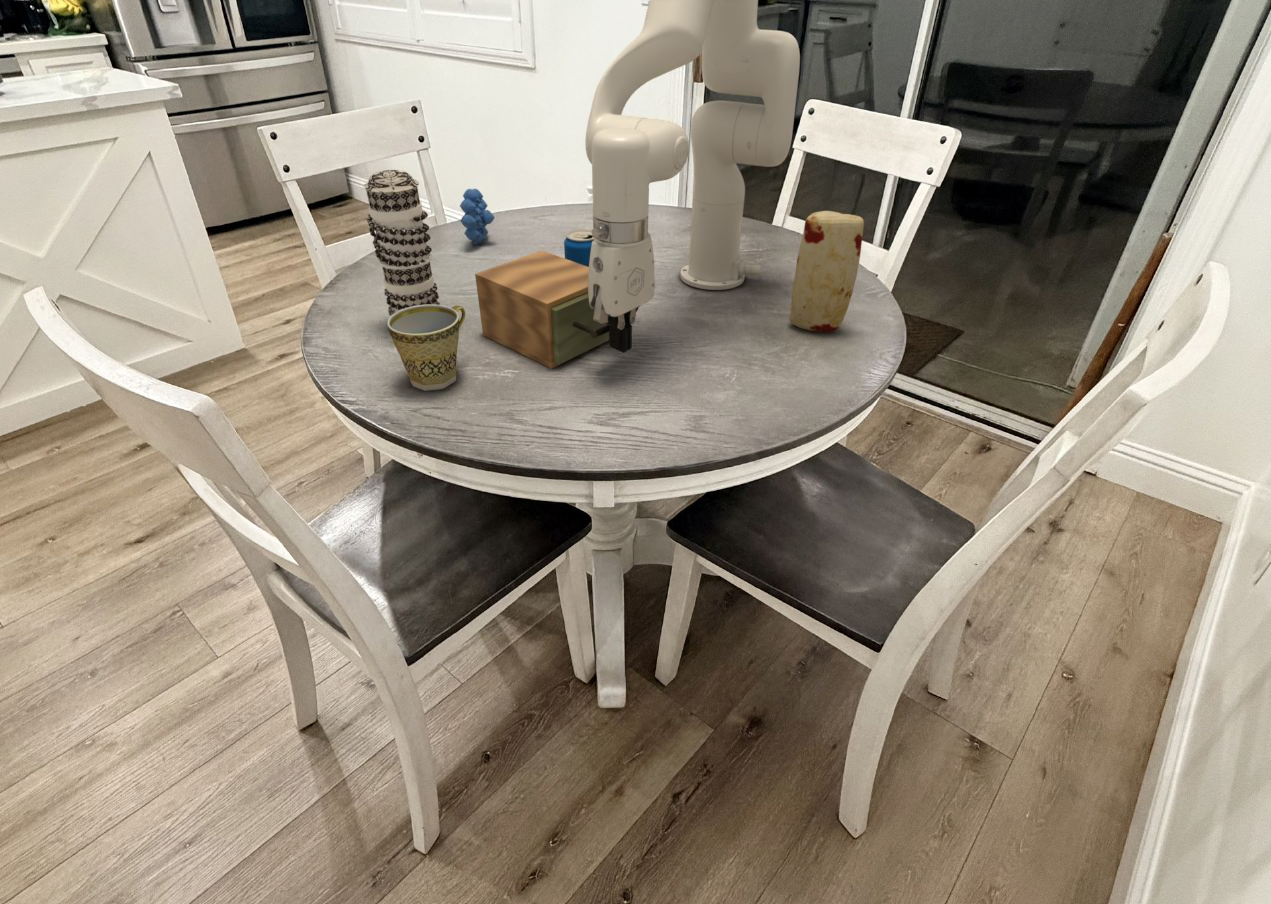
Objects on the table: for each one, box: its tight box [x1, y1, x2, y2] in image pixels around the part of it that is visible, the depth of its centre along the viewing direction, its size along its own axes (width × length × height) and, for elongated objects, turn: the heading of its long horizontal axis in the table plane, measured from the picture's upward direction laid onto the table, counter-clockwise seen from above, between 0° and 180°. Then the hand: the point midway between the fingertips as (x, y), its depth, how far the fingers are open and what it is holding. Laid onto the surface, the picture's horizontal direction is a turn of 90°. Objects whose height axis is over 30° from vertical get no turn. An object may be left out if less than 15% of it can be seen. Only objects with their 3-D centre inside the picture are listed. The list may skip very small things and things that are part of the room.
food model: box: [788, 210, 865, 334], centre depth 115 cm, size 10×7×20 cm
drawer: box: [551, 292, 609, 365], centre depth 112 cm, size 21×13×9 cm, turn 49°
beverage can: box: [563, 228, 594, 267], centre depth 127 cm, size 6×6×12 cm
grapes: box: [459, 188, 496, 245], centre depth 149 cm, size 12×7×12 cm, turn 173°
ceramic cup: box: [386, 304, 466, 392], centre depth 104 cm, size 13×10×10 cm
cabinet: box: [474, 250, 609, 369], centre depth 115 cm, size 17×14×11 cm
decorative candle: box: [363, 169, 441, 317], centre depth 113 cm, size 9×9×25 cm
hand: (620, 348), depth 107 cm, fingers closed
